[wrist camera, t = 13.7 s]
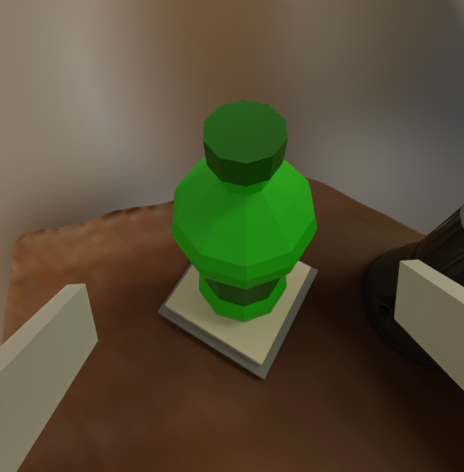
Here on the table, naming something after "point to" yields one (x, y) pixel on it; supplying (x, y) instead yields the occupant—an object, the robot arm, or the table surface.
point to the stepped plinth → (235, 332)
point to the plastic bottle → (243, 211)
